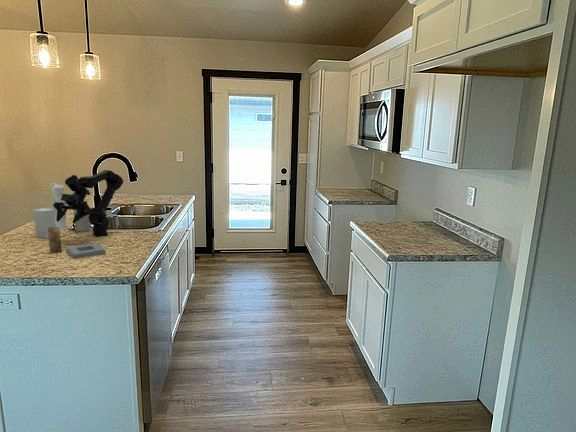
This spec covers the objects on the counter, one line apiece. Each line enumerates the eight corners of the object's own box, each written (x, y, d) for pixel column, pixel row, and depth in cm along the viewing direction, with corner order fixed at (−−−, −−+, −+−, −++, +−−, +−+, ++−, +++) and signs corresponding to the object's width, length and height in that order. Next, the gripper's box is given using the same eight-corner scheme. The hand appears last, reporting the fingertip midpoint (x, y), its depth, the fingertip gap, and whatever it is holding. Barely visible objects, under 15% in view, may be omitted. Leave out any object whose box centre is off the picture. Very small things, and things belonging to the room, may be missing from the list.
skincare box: (57, 236, 226) (54, 208, 223) (46, 239, 220) (44, 211, 217) (45, 234, 229) (43, 207, 226) (35, 237, 223) (32, 209, 220)
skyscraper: (57, 231, 235) (53, 184, 230) (50, 229, 239) (46, 182, 233) (70, 229, 242) (67, 182, 236) (63, 227, 246) (60, 181, 240)
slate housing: (96, 247, 208) (96, 243, 208) (105, 253, 198) (104, 249, 198) (66, 251, 199) (66, 247, 199) (73, 258, 189) (73, 254, 189)
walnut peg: (60, 249, 202) (58, 226, 200) (62, 251, 199) (60, 228, 196) (49, 251, 199) (46, 227, 197) (51, 253, 196) (49, 229, 193)
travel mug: (86, 227, 247) (84, 198, 243) (92, 230, 242) (90, 200, 238) (72, 230, 241) (70, 200, 237) (79, 232, 236) (76, 202, 232)
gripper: (54, 186, 207) (39, 211, 199) (86, 188, 204) (72, 214, 195) (66, 199, 216) (52, 223, 208) (97, 201, 213) (84, 226, 205)
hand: (65, 221), depth 204 cm, fingers open, 9 cm apart
